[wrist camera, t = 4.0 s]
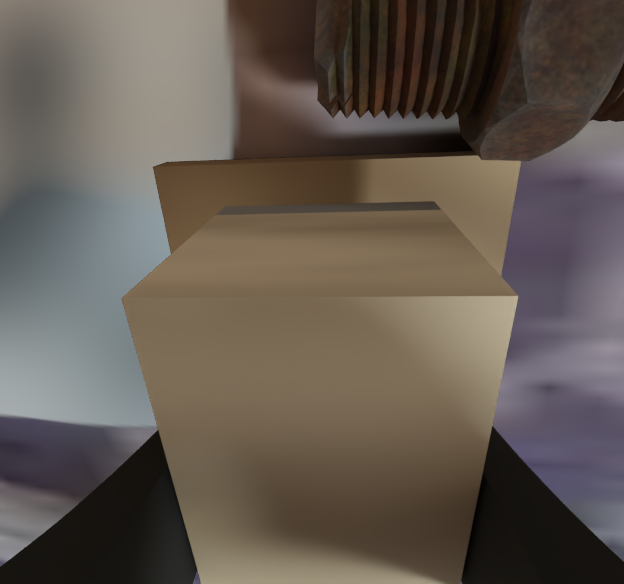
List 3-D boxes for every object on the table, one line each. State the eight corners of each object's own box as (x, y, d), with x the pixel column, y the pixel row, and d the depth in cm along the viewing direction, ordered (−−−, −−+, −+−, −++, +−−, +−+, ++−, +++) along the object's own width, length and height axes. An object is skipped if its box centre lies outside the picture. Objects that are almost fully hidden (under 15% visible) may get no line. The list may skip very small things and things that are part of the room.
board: (449, 520, 18) (454, 542, 17) (234, 511, 19) (228, 531, 18) (508, 149, 11) (522, 153, 10) (167, 161, 12) (152, 166, 11)
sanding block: (409, 472, 13) (443, 665, 9) (261, 468, 14) (219, 650, 9) (434, 201, 9) (518, 295, 5) (224, 206, 10) (121, 298, 5)
